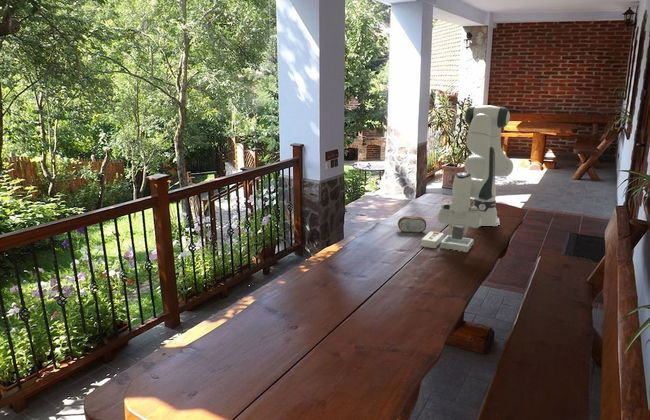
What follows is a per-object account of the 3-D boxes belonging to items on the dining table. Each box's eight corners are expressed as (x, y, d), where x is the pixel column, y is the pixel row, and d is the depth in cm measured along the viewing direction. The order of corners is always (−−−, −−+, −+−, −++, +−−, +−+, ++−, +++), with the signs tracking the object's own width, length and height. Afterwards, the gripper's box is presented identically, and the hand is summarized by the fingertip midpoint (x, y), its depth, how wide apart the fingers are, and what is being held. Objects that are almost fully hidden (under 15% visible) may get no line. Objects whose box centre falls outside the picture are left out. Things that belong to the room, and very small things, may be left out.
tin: (425, 231, 265) (426, 216, 263) (426, 233, 262) (427, 218, 260) (397, 230, 266) (398, 215, 264) (397, 232, 263) (398, 217, 261)
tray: (447, 240, 251) (447, 235, 250) (473, 244, 245) (473, 239, 244) (440, 247, 240) (440, 242, 239) (467, 252, 234) (467, 246, 233)
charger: (454, 238, 244) (455, 225, 243) (462, 239, 242) (464, 226, 241) (451, 240, 241) (452, 227, 239) (460, 242, 239) (462, 228, 237)
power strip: (433, 234, 260) (433, 227, 259) (446, 236, 257) (447, 229, 256) (421, 245, 242) (421, 238, 241) (435, 248, 239) (435, 240, 238)
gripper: (483, 207, 235) (481, 235, 239) (441, 202, 244) (439, 228, 248) (481, 210, 230) (478, 238, 233) (438, 205, 239) (436, 232, 243)
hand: (457, 233), depth 241 cm, fingers closed on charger, 4 cm apart
